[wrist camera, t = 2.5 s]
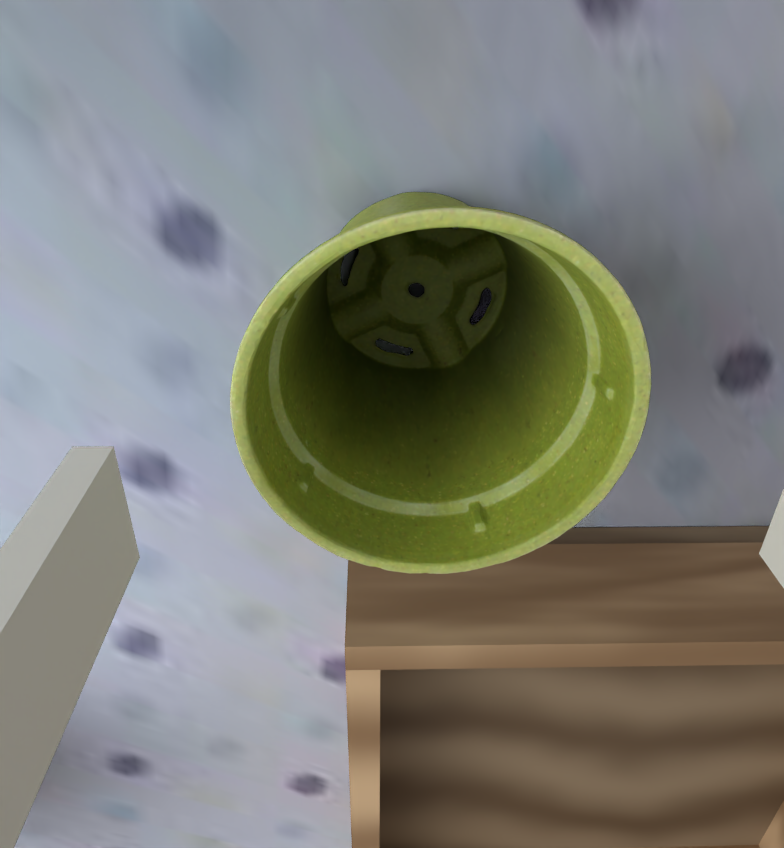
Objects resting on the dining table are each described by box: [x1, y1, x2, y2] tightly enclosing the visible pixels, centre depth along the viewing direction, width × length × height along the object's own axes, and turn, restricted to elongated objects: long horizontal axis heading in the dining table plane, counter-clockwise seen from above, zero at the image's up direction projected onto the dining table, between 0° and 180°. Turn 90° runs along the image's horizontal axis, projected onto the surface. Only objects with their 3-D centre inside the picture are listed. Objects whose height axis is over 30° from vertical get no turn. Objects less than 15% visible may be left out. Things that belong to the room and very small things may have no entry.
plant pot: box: [230, 192, 651, 574], centre depth 19 cm, size 9×9×9 cm
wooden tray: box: [345, 526, 784, 848], centre depth 32 cm, size 25×25×6 cm
